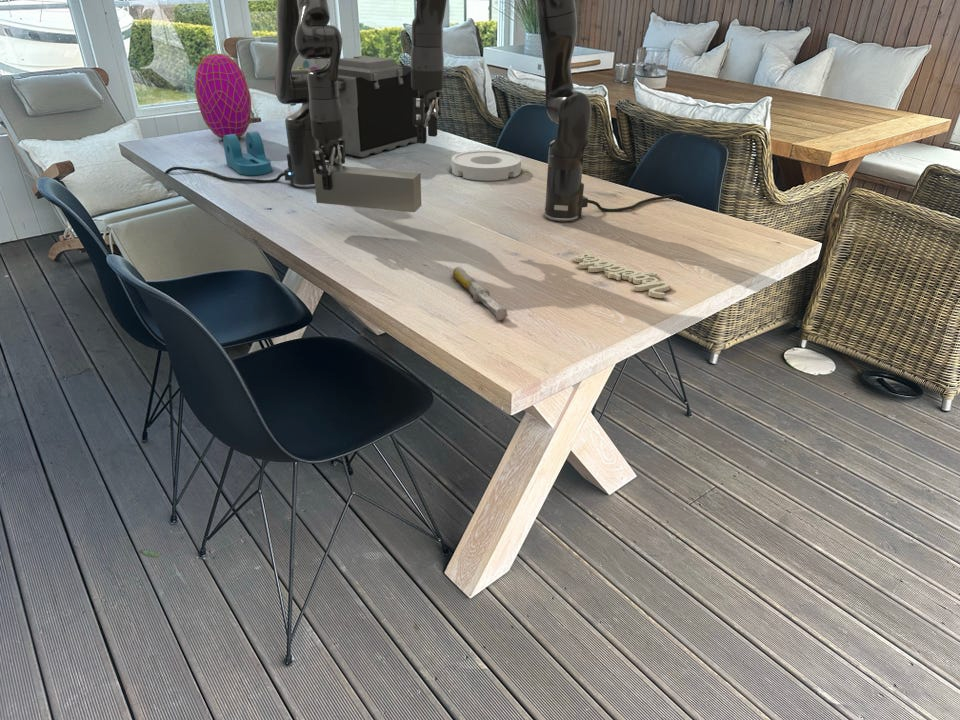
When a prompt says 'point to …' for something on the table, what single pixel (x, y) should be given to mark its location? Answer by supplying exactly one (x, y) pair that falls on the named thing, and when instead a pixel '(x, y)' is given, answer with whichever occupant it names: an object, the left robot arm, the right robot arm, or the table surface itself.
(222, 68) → the decorative egg
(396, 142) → the cooler box
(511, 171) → the ashtray
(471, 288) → the syringe
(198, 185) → the table surface
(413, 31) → the right robot arm
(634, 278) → the decorative sign
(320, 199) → the bar
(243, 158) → the camera mount
